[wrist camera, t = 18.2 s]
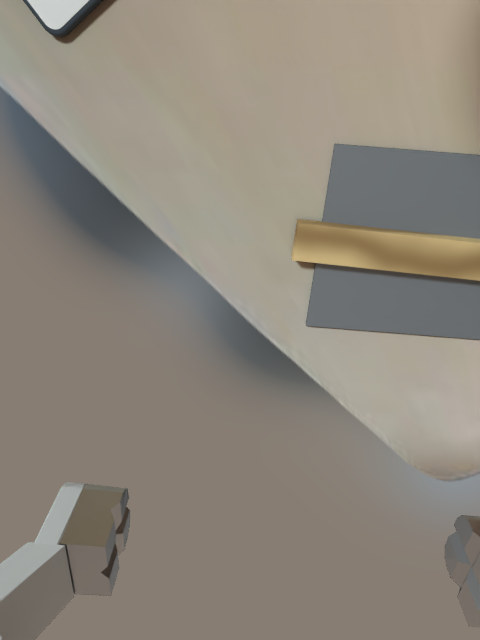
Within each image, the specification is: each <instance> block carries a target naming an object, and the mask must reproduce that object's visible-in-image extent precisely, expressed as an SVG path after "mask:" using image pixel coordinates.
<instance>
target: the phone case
mask: <svg viewBox="0 0 480 640" xmlns="http://www.w3.org/2000/svg"><path fill="white" fill-rule="evenodd" d="M23 1H24V2H25V3H26V5H27V6H28V7H29V9H30V10H31V11H32V13H33V14H34V15H35V17H36V18H37V19H38V21H39V22H40V23H41V24H42V26H43V27H44V28H45V30H46V31H47V32H49V33H50V34H52V35H54V36H66V35H67V34H69V33H70V32H71V31H72V30H73V29H74V28H75V27H76V26H77V25H78V24H79V23H80V22H81V21H82V20H83V19H84V18H85V17H86V16H87V15H88V14H90V13H91V12H92V11H93V10H94V9H95V8H96V7H97V6H98V5H99V4H100V3H101V2H102V1H103V0H23Z"/></svg>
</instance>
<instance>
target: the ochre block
mask: <svg viewBox="0 0 480 640" xmlns="http://www.w3.org/2000/svg"><path fill="white" fill-rule="evenodd" d="M292 260H293V261H302V262H312V263H321V264H330V265H339V266H349V267H358V268H367V269H376V270H386V271H395V272H404V273H413V274H422V275H432V276H441V277H450V278H459V279H469V280H478V281H480V239H476V238H466V237H457V236H448V235H439V234H430V233H421V232H412V231H402V230H393V229H384V228H375V227H366V226H357V225H348V224H338V223H329V222H320V221H311V220H302V219H297V225H296V231H295V237H294V243H293V249H292Z"/></svg>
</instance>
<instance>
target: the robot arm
mask: <svg viewBox="0 0 480 640" xmlns="http://www.w3.org/2000/svg"><path fill="white" fill-rule="evenodd" d="M128 499H129V495H128V489H127V488H119V487H110V486H101V485H92V484H82V483H71V482H66V483H65V484H64V485H63V486H62V487H61V489H60V491H59V493H58V495H57V497H56V499H55V501H54V503H53V505H52V508H51V509H50V512H49V513H48V516H47V518H46V520H45V522H44V524H43V526H42V528H41V530H40V532H39V534H38V536H37V538H36V540H35V542H28V543H26V544H25V545H24V546H23V547H21V548H20V549H19V550H17V551H16V552H15V553H14V554H12V555H11V556H10V557H9V558H7V559H6V560H5V561H3V562H2V563H1V564H0V640H35V639H36V638H37V637H38V636H39V635H40V634H41V633H42V632H43V630H45V628H46V627H47V626H48V625H49V624H50V623H51V622H52V621H53V619H55V617H56V616H57V615H58V614H59V613H60V612H61V611H62V610H63V609H64V608H65V606H66V605H67V604H68V603H69V602H70V601H71V600H72V599H73V598H74V594H80V595H99V596H111V594H112V591H113V587H114V584H115V581H116V577H117V574H118V571H119V560H118V556H119V555H120V554H121V553H122V552H123V551H124V549H125V546H126V542H127V538H128V532H129V527H130V510H129V509H128V508H127V507H126V505H127V502H128ZM454 526H455V528H456V531H457V532H455V533H454V534H452V535H450V536H449V537H448V539H447V542H446V544H445V561H446V567H447V570H448V572H449V575H450V578H451V579H453V581H454V582H455V583H456V584H457V585H458V586H459V587H460V590H459V593H458V599H459V602H460V605H461V607H462V610H463V613H464V615H465V618H466V620H467V623H468V626H472V627H480V517H479V516H463V515H462V516H460V517H458V518H457V520H456V522H455V524H454Z"/></svg>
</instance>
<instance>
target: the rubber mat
mask: <svg viewBox="0 0 480 640" xmlns="http://www.w3.org/2000/svg"><path fill="white" fill-rule="evenodd" d="M322 222H329V223H338V224H348V225H357V226H366V227H375V228H384V229H393V230H402V231H412V232H421V233H430V234H439V235H448V236H457V237H466V238H476V239H480V155H472V154H460V153H447V152H434V151H421V150H408V149H395V148H382V147H370V146H357V145H344V144H334V151H333V157H332V163H331V169H330V176H329V182H328V188H327V195H326V201H325V207H324V213H323V220H322ZM306 326H314V327H326V328H339V329H352V330H364V331H377V332H390V333H402V334H415V335H428V336H440V337H453V338H466V339H478V340H480V281H478V280H469V279H459V278H450V277H441V276H432V275H422V274H413V273H404V272H395V271H386V270H376V269H367V268H358V267H349V266H339V265H330V264H321V263H316V264H315V270H314V276H313V282H312V289H311V295H310V301H309V308H308V314H307V320H306Z"/></svg>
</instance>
